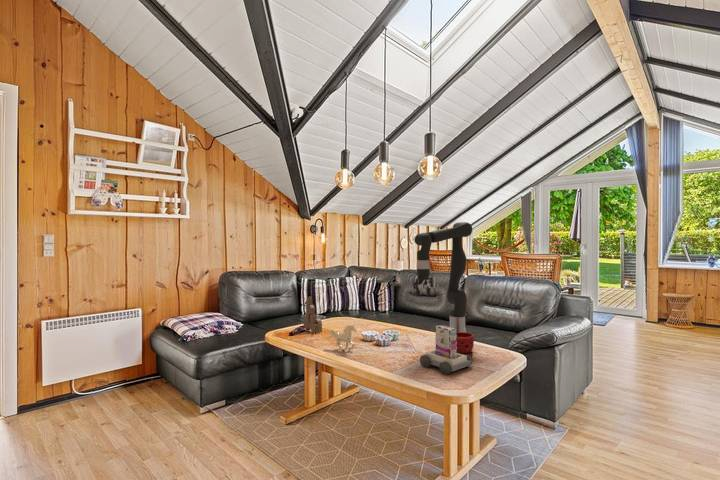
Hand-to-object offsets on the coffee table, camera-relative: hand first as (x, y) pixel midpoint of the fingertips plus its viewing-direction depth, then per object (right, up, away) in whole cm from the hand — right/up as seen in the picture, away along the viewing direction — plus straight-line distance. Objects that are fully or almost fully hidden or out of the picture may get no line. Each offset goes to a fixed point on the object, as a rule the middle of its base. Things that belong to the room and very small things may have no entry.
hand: (423, 295), depth 223 cm
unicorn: (-47, -33, +3) cm, 57 cm away
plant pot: (+20, -32, -10) cm, 39 cm away
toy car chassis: (+7, -32, -27) cm, 43 cm away
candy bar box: (+7, -29, -28) cm, 41 cm away
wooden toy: (-71, -32, +48) cm, 91 cm away
